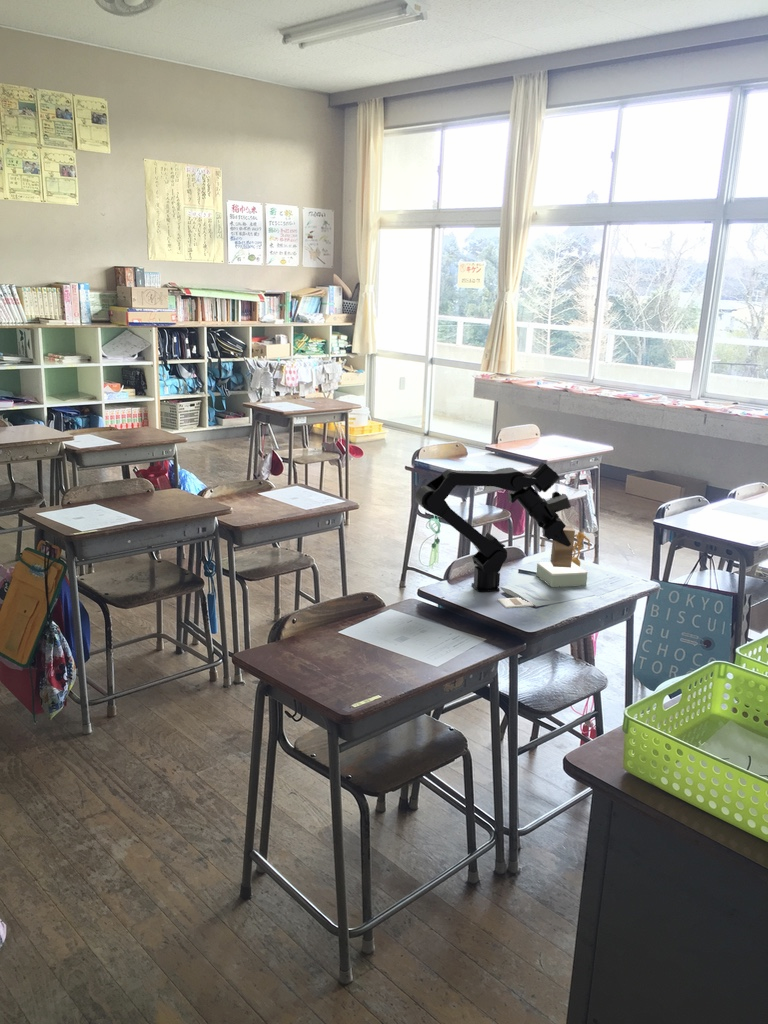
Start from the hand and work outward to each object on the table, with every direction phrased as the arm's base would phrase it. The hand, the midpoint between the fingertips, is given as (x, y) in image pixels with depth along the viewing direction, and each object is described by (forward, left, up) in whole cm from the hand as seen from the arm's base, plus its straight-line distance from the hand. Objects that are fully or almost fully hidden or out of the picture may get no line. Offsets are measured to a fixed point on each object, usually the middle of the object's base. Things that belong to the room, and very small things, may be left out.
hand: (567, 542), depth 234 cm
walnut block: (-2, 0, -7) cm, 7 cm away
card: (-19, -10, -13) cm, 26 cm away
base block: (+2, +6, -13) cm, 15 cm away
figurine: (+11, +15, -14) cm, 23 cm away
